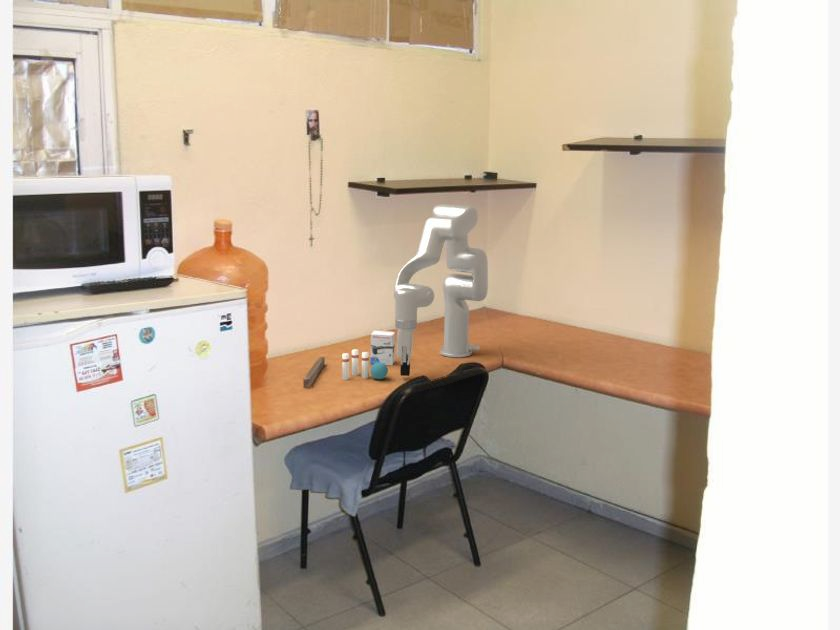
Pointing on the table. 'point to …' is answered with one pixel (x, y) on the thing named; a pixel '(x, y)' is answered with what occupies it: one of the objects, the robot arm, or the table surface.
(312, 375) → the bar
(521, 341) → the table surface
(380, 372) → the ball
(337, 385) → the table surface
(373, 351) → the ink box
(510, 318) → the table surface
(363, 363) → the pin front
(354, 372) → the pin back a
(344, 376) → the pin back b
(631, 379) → the table surface
